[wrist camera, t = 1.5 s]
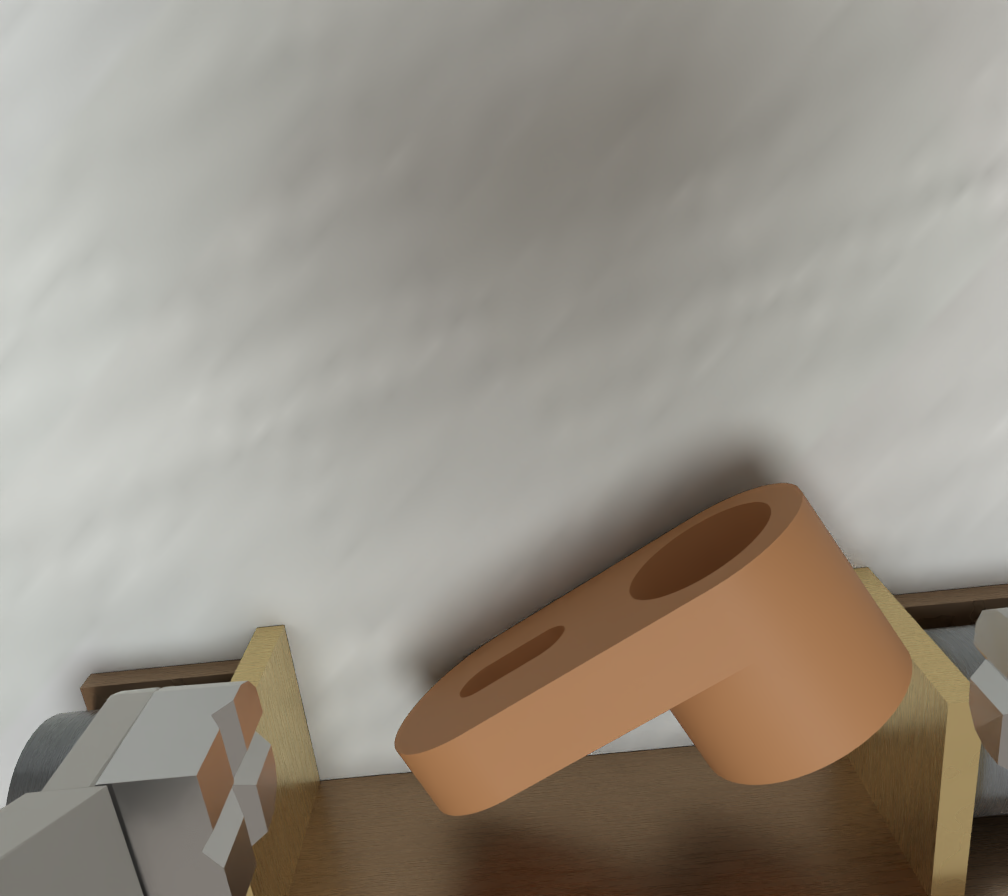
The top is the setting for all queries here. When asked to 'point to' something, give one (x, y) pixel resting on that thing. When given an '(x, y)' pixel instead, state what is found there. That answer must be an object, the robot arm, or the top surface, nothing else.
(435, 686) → the tan piece
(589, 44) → the top surface
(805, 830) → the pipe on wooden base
